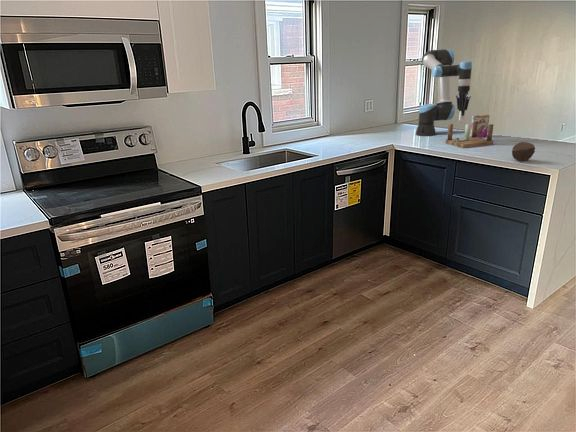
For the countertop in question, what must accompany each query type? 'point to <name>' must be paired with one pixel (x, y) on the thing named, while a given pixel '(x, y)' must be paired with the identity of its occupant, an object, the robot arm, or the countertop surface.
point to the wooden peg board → (473, 140)
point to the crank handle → (467, 132)
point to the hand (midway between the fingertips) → (461, 120)
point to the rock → (523, 151)
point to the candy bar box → (480, 125)
